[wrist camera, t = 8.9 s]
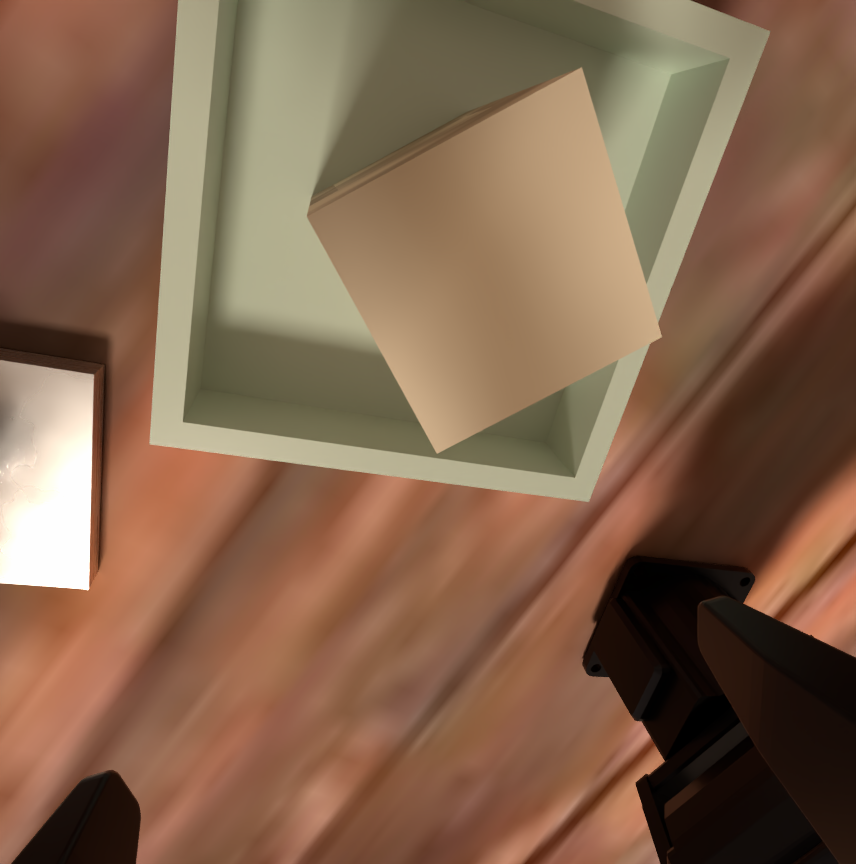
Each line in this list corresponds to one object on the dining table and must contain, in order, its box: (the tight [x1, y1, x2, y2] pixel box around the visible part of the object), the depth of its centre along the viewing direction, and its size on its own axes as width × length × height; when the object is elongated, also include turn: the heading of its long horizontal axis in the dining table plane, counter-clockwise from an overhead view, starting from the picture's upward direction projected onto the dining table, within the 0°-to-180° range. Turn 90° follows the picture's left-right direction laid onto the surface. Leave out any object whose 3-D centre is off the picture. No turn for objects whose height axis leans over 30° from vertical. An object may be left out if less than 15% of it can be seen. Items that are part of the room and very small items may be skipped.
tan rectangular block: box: [307, 67, 662, 454], centre depth 14 cm, size 5×5×8 cm
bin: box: [150, 0, 770, 502], centre depth 17 cm, size 14×14×4 cm
